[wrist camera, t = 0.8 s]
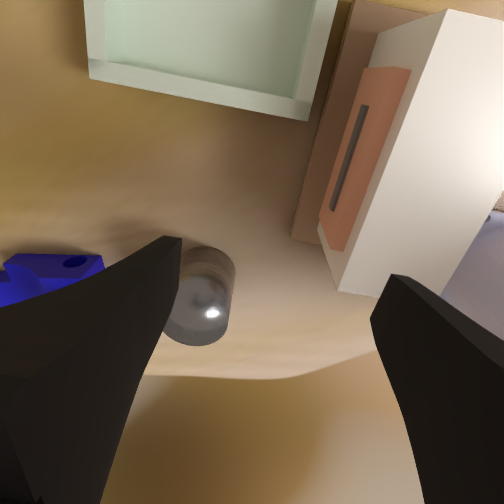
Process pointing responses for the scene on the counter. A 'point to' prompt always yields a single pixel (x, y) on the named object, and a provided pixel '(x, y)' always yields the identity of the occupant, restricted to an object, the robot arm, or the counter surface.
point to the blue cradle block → (43, 274)
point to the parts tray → (213, 49)
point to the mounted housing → (406, 147)
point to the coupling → (202, 297)
